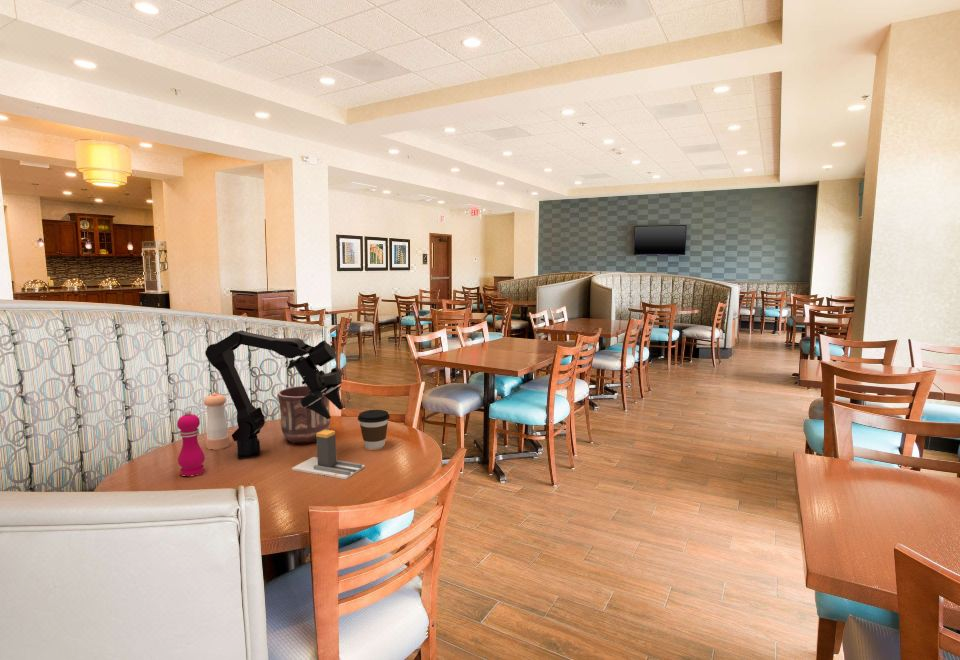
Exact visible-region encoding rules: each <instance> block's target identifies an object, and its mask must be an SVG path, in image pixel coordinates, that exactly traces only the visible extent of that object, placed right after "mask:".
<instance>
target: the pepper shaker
mask: <svg viewBox="0 0 960 660" xmlns="http://www.w3.org/2000/svg"><path fill="white" fill-rule="evenodd" d="M226 402H227V397H226V396H225V395H223V394H218V393H217V392H213V393H212V394H210V395H208V396H206V397H205V398H204V400H203V404H204V406H206V413H207V414H206V415H207V417H206V418H207V419H206V420H207V421H206V427H205V428H206V436H207V437H206V439H205V440H206V441H205V442H206V449H207V448H208V449H207V450H210V449H213V451H215V450H217V451H218V450H222V449H225V448H228V447H230V445H231V444H230V435H229V432H228V431H229V428H228V422H227V417H226V414H225V413H226V411H225V404H226Z"/></svg>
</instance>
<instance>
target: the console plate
mask: <svg viewBox="0 0 960 660" xmlns="http://www.w3.org/2000/svg"><path fill="white" fill-rule="evenodd" d="M336 463H337V465H335V466H333V467H332V468H330V467H324V466H318V459H317V457H316V456H312V457H311V458H308V459H307V460H304V461H303V462H301V463H299V464H297V465H295V466H293V467H291V471H295V472H296V471H297V472H302V473H308V474H313V475H318V474H319V476H324V475H325V477H331V478H337V479H342V480H347V479H349V478H350V477H351V476H353V475H355V474H356V473H358V472H360V471H362V470H363V469H365V468H366V465H365V464H363V463H358V462H351V461H346V460H338V459H336Z"/></svg>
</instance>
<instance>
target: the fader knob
mask: <svg viewBox="0 0 960 660" xmlns="http://www.w3.org/2000/svg"><path fill="white" fill-rule="evenodd" d="M316 439H317V441H316V455H317V459H318V466H324V467H330V468H332V467H333V466H335V465H337V463H336V460H337V444H336V443H337V441H336V430H333V429H331V430H330V429H328V430H322V431H320V432H318V433H316Z"/></svg>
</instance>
